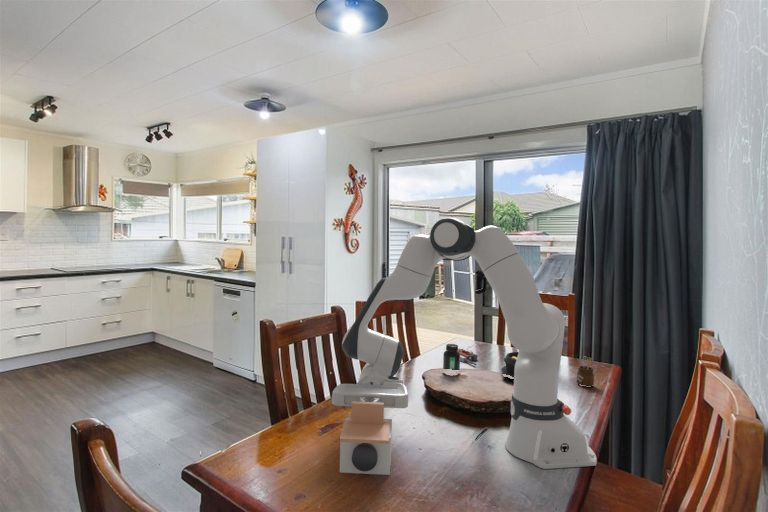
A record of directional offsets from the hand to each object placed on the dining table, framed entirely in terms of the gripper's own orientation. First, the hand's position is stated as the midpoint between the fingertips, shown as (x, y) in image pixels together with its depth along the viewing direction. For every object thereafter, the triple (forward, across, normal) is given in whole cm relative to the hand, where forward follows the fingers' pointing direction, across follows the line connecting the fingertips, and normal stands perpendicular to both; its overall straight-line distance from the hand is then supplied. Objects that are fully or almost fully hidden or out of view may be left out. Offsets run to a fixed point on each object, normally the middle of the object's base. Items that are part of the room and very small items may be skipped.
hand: (368, 408), depth 104 cm
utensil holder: (-61, +80, +14) cm, 102 cm away
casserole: (-69, +59, +14) cm, 92 cm away
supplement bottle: (-69, +29, +14) cm, 76 cm away
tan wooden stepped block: (+5, 0, +4) cm, 6 cm away
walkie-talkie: (-90, +38, +14) cm, 99 cm away
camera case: (+1, 0, +14) cm, 14 cm away
